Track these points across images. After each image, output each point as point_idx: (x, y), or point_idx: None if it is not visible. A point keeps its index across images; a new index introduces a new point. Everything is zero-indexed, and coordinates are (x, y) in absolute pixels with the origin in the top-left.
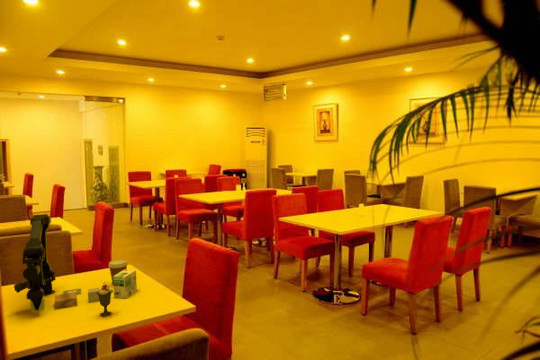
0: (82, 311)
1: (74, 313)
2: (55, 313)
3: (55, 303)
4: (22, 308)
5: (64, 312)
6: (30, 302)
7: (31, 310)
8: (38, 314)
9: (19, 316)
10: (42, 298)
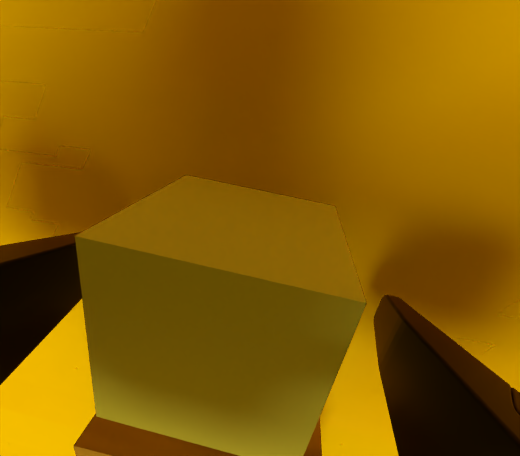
0: (24, 449)
1: (5, 416)
2: (45, 342)
3: (91, 427)
4: (437, 73)
5: (43, 386)
6: (97, 225)
7: (177, 184)
8: (74, 231)
9: (96, 7)
10: (154, 422)
